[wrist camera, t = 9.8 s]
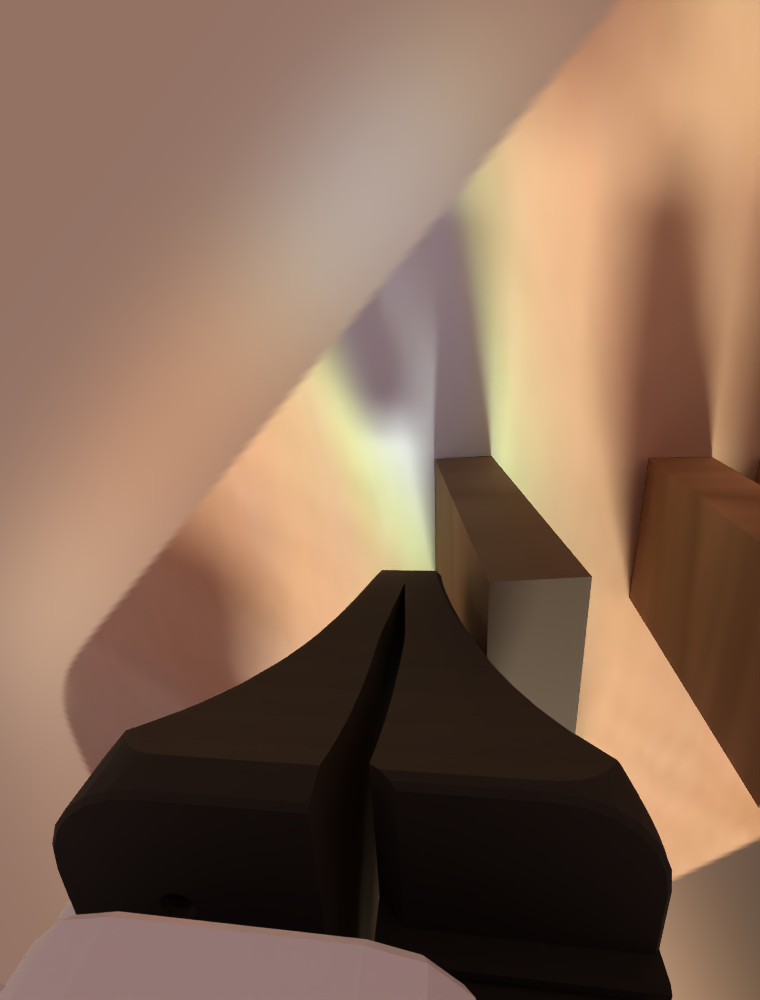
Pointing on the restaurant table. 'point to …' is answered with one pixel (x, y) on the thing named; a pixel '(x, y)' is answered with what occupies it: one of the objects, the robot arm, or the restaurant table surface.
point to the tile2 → (706, 594)
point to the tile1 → (512, 583)
